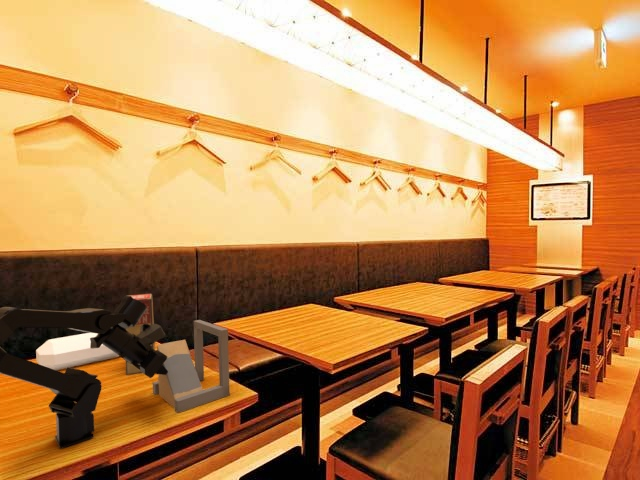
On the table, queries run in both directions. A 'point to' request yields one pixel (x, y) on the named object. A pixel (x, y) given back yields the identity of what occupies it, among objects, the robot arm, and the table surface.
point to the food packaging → (145, 318)
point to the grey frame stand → (212, 392)
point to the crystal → (71, 352)
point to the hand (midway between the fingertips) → (166, 372)
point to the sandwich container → (177, 372)
